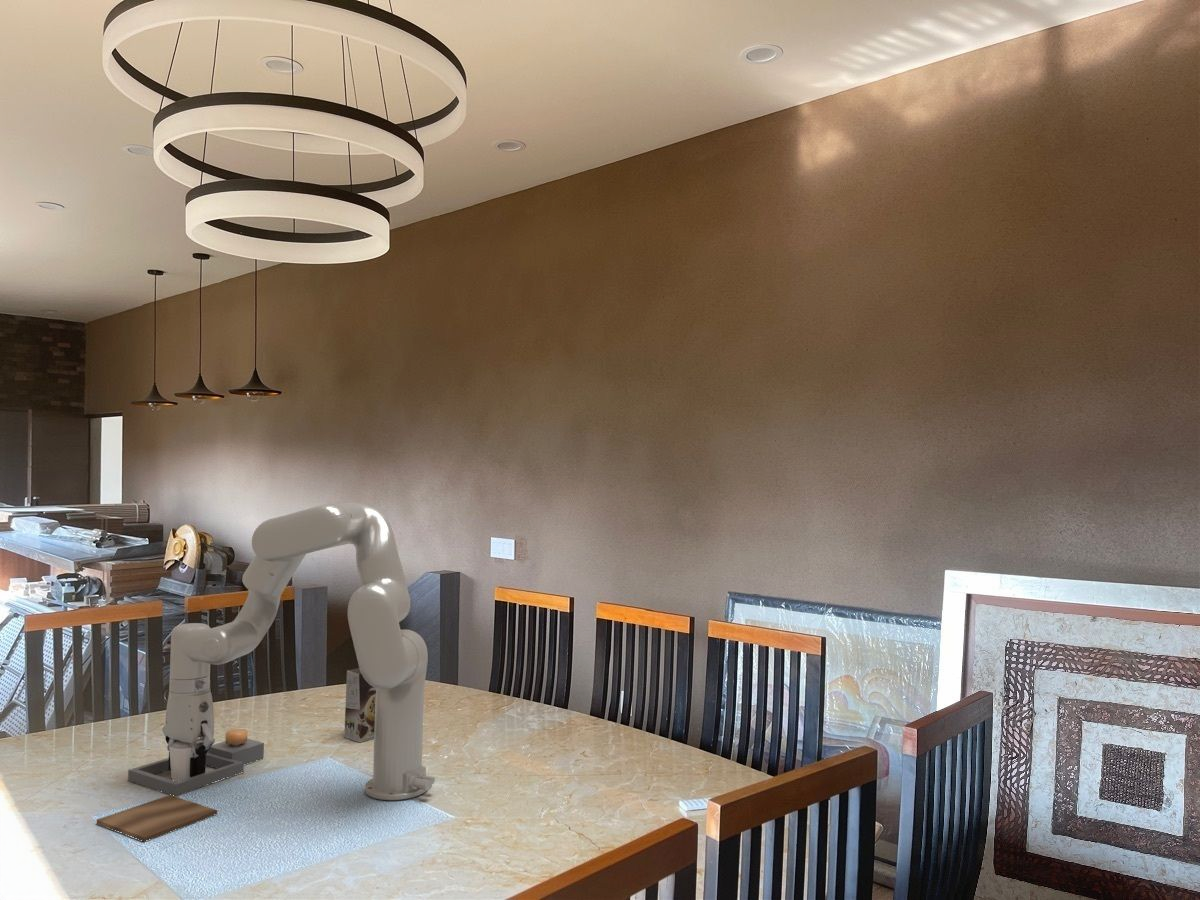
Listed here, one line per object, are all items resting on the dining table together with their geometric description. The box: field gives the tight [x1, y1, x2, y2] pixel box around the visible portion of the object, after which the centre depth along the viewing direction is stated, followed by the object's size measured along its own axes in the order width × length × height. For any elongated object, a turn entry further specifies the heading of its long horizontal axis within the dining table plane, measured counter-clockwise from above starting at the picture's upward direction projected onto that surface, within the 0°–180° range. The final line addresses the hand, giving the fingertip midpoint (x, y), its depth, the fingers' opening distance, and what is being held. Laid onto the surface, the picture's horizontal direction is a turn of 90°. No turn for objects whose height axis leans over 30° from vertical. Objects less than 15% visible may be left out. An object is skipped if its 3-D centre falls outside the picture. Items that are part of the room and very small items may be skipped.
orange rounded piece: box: [224, 728, 248, 747], centre depth 186 cm, size 4×4×4 cm
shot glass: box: [169, 737, 201, 782], centre depth 175 cm, size 7×7×7 cm
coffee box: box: [343, 667, 377, 743], centre depth 205 cm, size 9×6×16 cm
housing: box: [127, 738, 265, 797], centre depth 179 cm, size 15×23×4 cm, turn 150°
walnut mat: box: [96, 794, 218, 842], centre depth 154 cm, size 14×14×1 cm
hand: (186, 771), depth 175 cm, fingers closed on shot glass, 6 cm apart
